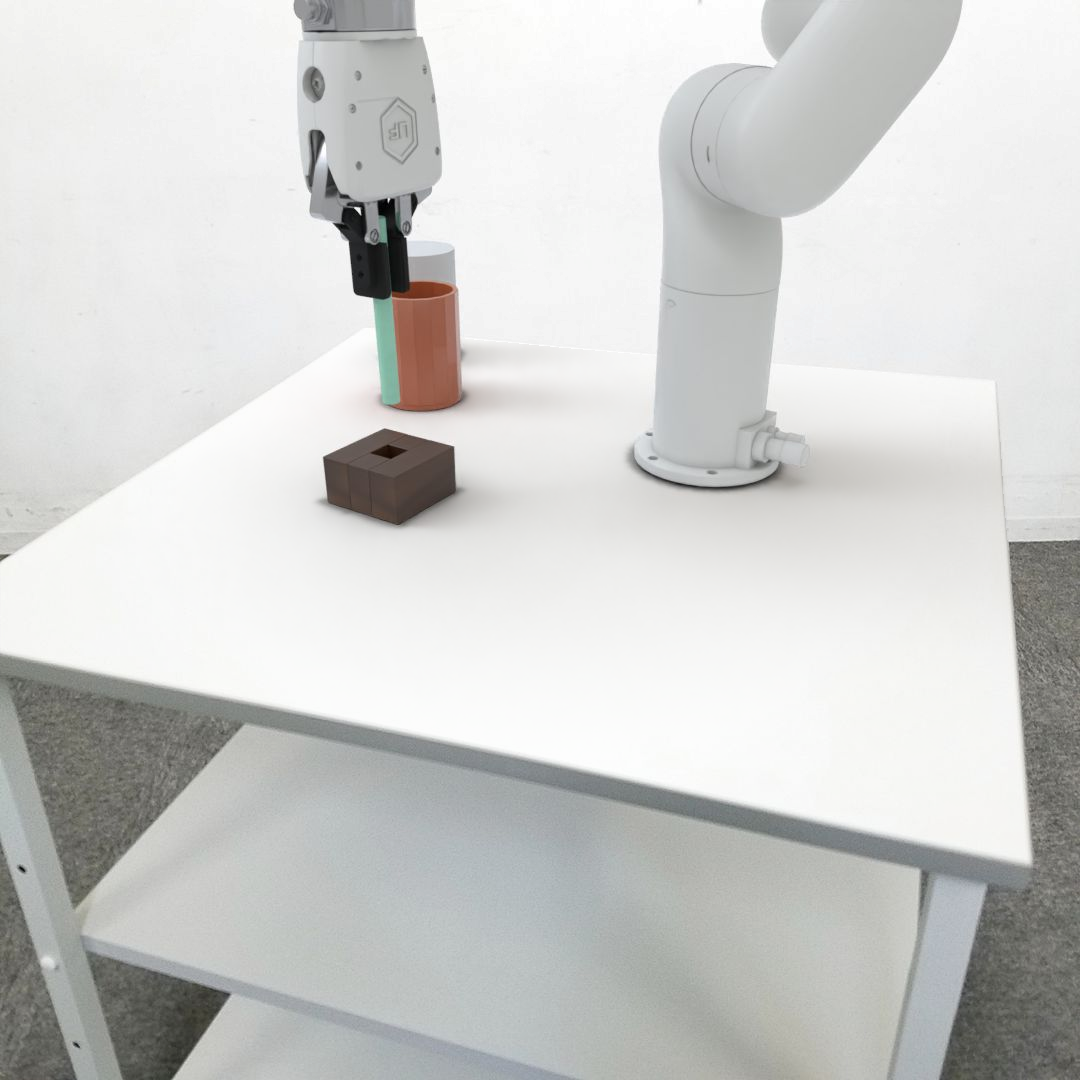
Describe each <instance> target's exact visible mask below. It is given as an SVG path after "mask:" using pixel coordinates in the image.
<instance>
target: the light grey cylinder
mask: <svg viewBox="0 0 1080 1080" xmlns="http://www.w3.org/2000/svg"><path fill="white" fill-rule="evenodd" d="M407 251H408V265H409V279H410V281H414V280H430V281H440V282H446V283H450V284H452V285H455V286H456V287H457V280H456V279H457V278H456V277H457V276H456V253H455V251H456V250H455V246H454V245H452V244H451V243H447V242H443V241H435V240H407Z"/></svg>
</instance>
